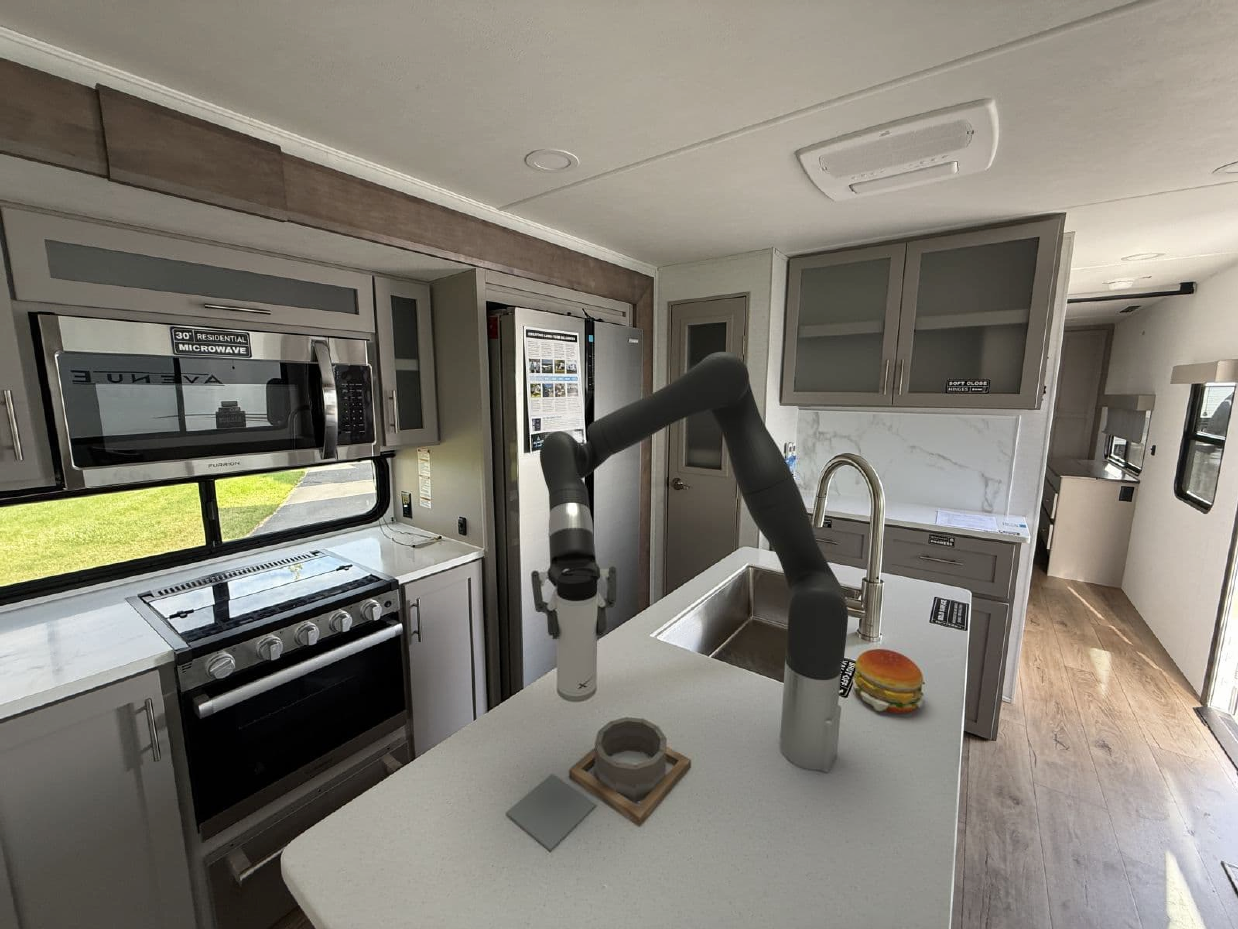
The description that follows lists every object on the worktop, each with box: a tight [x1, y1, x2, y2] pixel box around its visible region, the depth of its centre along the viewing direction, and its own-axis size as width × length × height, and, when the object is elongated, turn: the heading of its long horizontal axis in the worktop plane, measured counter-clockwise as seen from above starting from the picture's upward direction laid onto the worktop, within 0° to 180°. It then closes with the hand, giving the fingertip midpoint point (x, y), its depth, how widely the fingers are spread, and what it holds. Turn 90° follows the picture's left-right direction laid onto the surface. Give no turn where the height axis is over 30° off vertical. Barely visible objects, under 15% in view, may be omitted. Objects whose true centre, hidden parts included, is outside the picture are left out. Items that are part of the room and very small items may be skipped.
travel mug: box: [556, 568, 601, 703], centre depth 78 cm, size 6×7×20 cm
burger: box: [852, 648, 926, 714], centre depth 106 cm, size 14×14×10 cm
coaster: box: [505, 773, 597, 853], centre depth 79 cm, size 10×10×1 cm
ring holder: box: [568, 716, 692, 827], centre depth 87 cm, size 15×15×6 cm
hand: (578, 635), depth 76 cm, fingers closed on travel mug, 6 cm apart
